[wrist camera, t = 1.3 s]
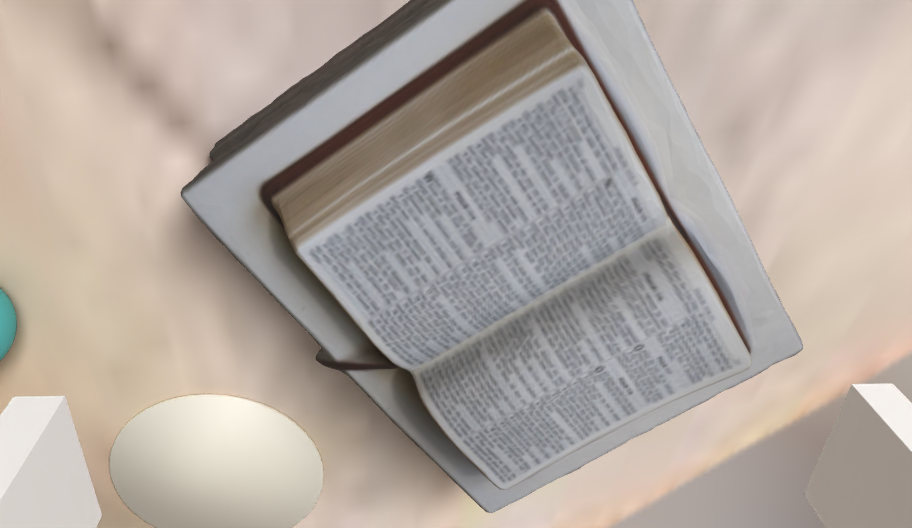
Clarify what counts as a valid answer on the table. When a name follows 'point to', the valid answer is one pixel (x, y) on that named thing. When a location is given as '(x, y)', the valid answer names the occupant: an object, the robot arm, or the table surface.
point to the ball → (6, 324)
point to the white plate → (216, 465)
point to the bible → (501, 235)
